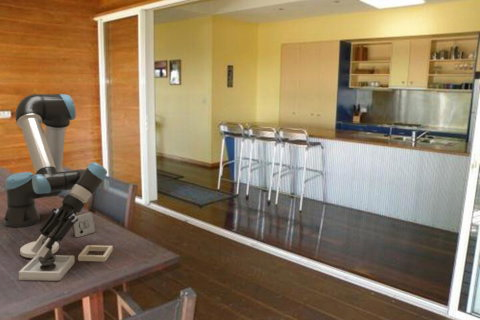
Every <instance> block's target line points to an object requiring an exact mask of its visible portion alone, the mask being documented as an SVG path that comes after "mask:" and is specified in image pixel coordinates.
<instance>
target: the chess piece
mask: <svg viewBox="0 0 480 320" xmlns="http://www.w3.org/2000/svg"><path fill="white" fill-rule="evenodd" d="M47 239H48V238H47V236H46V238H44V239H43V240H42V246H43V244H44V243H45V242H46V240H47ZM56 255H57V254H56ZM56 255H55V253H53V254H52V247H51V248H50V249H49V251H48V252H47V253H46V255H45V256H44V257H41V256H40V257H39V261H40V263H41V264H42V265H41V266H40V269H42V270H50V269H53V268H55V267H56V264H54V262H55V258H56Z"/></svg>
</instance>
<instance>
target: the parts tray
mask: <svg viewBox="0 0 480 320" xmlns="http://www.w3.org/2000/svg"><path fill="white" fill-rule="evenodd" d="M39 257H40V255H36V256H35V257H34V258H31V260H30V261H29V262H27V263H26V264H25V265H24V266H23V267H22V268H21V269H20V270H18V279H19V281H46V282H47V281H49V282H53V281H55V282H60V281H61V280H62V279H63V278H64V276H65V275H66V274H67V273H68V271H69V270H71V268H72V267H73V265H74V264H75V255H67V254H66V255H64V254H63V255H59V254H58V255H57V254H56V258H55V262H54V264H56V267H55V268H53V269H50V270H42V269H40V266H41V265H42V264H41V263H40V261H39Z"/></svg>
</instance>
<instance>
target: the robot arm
mask: <svg viewBox="0 0 480 320" xmlns="http://www.w3.org/2000/svg"><path fill="white" fill-rule="evenodd" d="M76 113H77V112H76V106H75V102H74V100H73V98H72V97H71V96H70V95H69V94H62V93H58V94H57V93H55V94H54V93H43V94H42V93H41V94H40V93H34V94H29V95H27V96H25V97H23V98H22V100H20V102H19V103H18V104H17V106H16V109H15V113H14V116H15V121H16V125H17V126H18V128H20V129H21V132H22V135H23V138H24V141H25V145H26V148H27V150H28V153H29V157H30V160H31V163H32V166H33V169H34V172H35V173H33V172H31V171H24V172H23V171H22V172H19V173H18V172H17V173H13V174H11V175H10V176H7V177H6V179H5V191H6V192H5V195H6V205H7V206H6V207H7V208H6V212H5V215H4V218H3V219H4V220H3V223H4V224H3V225H4V226H6V227H8V228H9V227H10V228H23V227H30V226H33V225H35V224H38V223H39V222H40V221H41V218H40V217H41V216H40V213H39V211H38V209H37V206H36V199H43V198H52V197H58V196H61V195H64V194H66V193H67V191H68V194H66V196H65V197H64V198H63V200H62V201H61V203H62V205H61V206H60V207H59V208H55V207H54V208H53V209H52V210H51V213H50V215H49V216H48V218H47V219H46V220H44V221H45V222H44V223H43V224H42V226H41V227H40V229H39V232H40V234H39V236H38V238H37V240H35V241H36V243H35V244H34V245H33V247H32V248H31V249H30V251H32V252H34V253H36V254H38V255H40V256H41V257H44V256H45V255H46V253H47V252H48V251H49V249H50V248H51V247H52V246H53V244H54V243H55V242H62V241H63V239H64V238H65V236H66V235H67V234H68V232H69V231H70V229H72V226H73V224H74V223H76V222H77V221H78V218H76V217H75V216H77V213H80V212H81V211H82V209H84V208H85V204H87V202H88V201H89V199H91V197H92V196H93V195H94V193H95V191H96V190H97V189H98V188H99V187H100V185H101V183H102V182H103V181H104V180H105V178H106V176H107V174H108V170H107V169H106V168H105V167H104V166H103V165H101V164H100V163H98V162H95V161H94V162H93V161H92V162H91V163H90V164H89V165H87V166H86V168H85V169H84V168H79V169H74V170H73V169H72V170H65V169H63V162H64V160H63V159H64V149H65V148H64V147H65V141H66V139H65V137H66V130H67V129H66V128H68V127H69V126H70V125H71V121H73V120H75V119H76V115H77V114H76ZM42 124H43V125H44V129H43V126H42ZM46 236H47V238H48V239H47V240H46V242H45V243H44V244H43V246H42V240H43V239H44V238H46Z"/></svg>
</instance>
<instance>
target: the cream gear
mask: <svg viewBox="0 0 480 320" xmlns="http://www.w3.org/2000/svg"><path fill="white" fill-rule="evenodd" d="M36 241H37V240H35V241H31V242H27V243H26V244H24V245H22V246H21V247H20V249H19V251H20V255H21V257H24V258H28V259H33V258H34V257H35V256H36V255H38V254H36V253H34V252H32V251H30V249H31V248H32V247H33V245H34V244H35V243H36ZM59 249H60V245H59V241H57V242H55V243H54V244H53V246H52V254H56V253H57V252H58V251H59Z"/></svg>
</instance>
